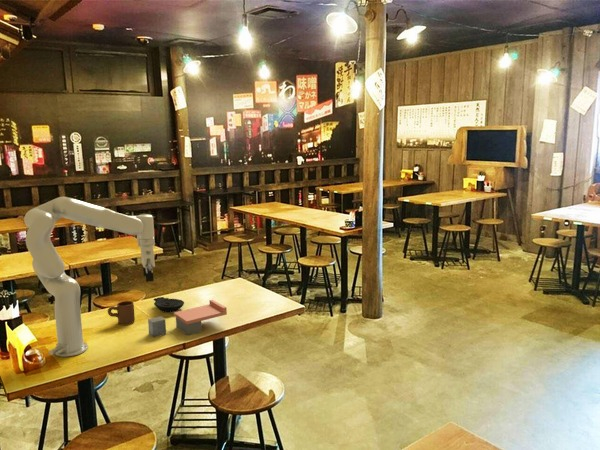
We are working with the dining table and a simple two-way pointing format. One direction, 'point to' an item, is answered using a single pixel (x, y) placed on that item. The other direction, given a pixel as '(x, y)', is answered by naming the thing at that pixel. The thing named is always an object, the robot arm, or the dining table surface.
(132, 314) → the mug
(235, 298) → the dining table surface
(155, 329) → the block
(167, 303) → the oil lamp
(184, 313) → the stand
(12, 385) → the dining table surface
